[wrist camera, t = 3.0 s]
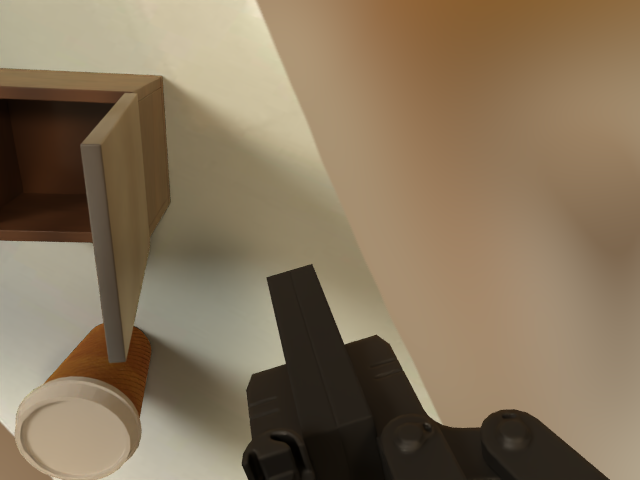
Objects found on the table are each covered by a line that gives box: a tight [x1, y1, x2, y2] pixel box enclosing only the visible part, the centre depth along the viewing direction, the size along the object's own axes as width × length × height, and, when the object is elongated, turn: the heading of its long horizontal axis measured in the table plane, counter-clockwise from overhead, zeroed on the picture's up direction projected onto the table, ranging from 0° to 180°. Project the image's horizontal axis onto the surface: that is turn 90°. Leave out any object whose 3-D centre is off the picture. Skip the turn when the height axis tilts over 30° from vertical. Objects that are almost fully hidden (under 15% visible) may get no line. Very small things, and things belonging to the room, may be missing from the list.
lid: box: [80, 93, 150, 363], centre depth 29 cm, size 14×11×1 cm
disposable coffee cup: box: [15, 323, 151, 480], centre depth 46 cm, size 10×10×12 cm
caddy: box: [0, 68, 171, 243], centre depth 39 cm, size 13×11×9 cm
